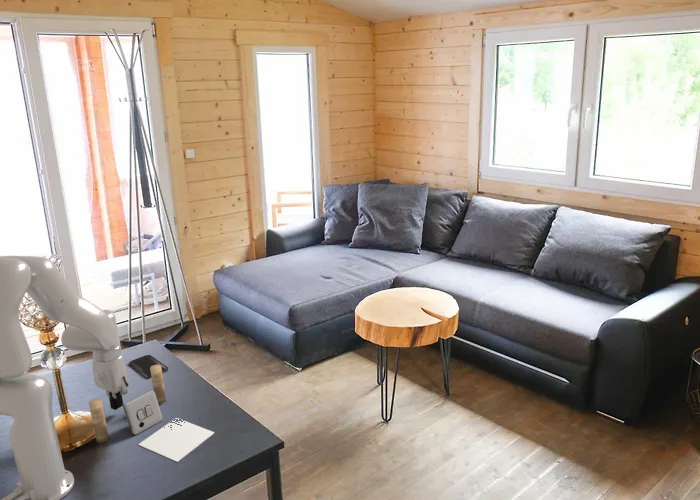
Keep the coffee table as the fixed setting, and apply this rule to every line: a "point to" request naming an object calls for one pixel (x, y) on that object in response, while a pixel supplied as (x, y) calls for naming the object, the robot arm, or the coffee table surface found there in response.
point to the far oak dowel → (158, 383)
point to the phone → (146, 365)
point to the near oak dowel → (98, 420)
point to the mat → (176, 439)
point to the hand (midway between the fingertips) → (117, 406)
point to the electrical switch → (142, 412)
